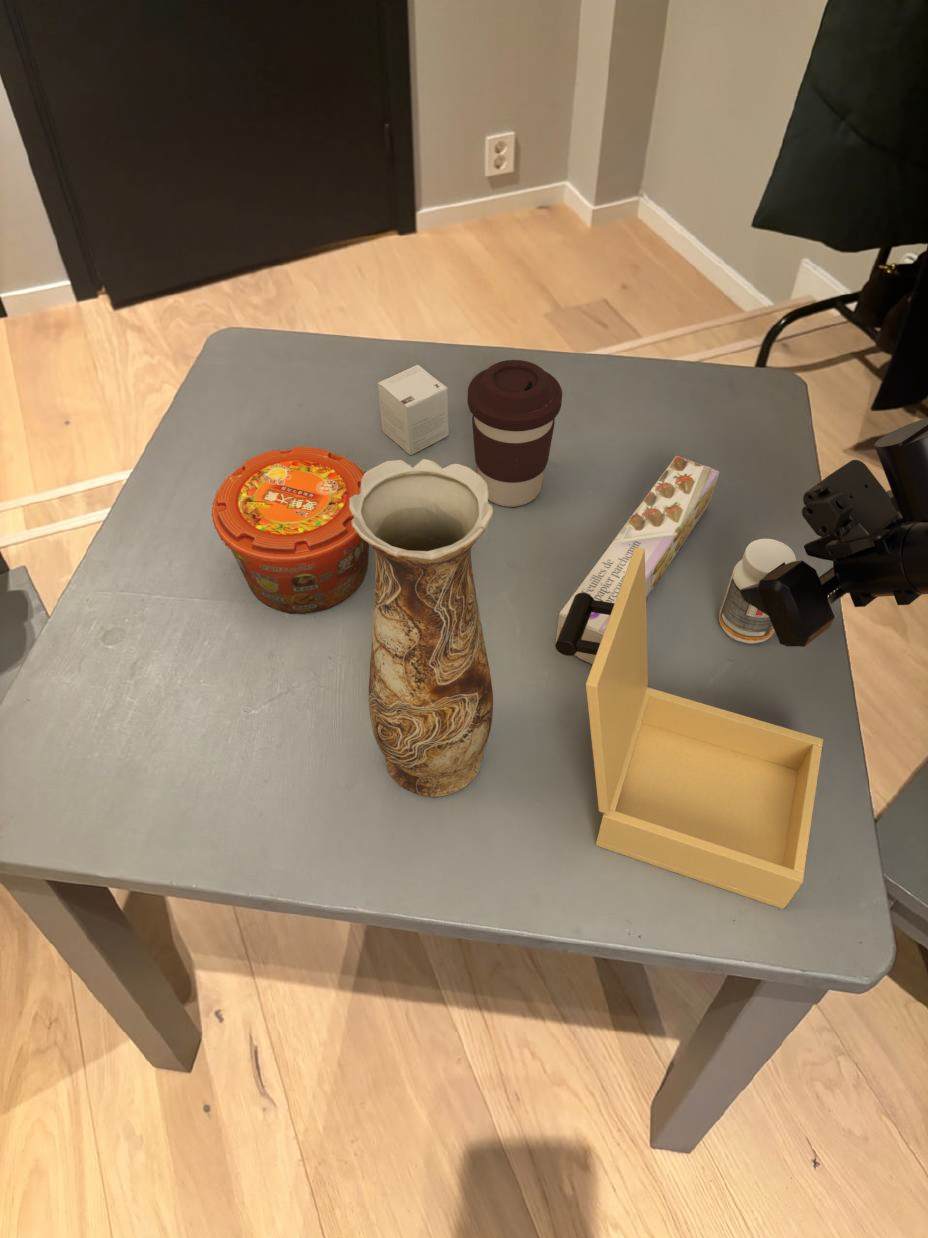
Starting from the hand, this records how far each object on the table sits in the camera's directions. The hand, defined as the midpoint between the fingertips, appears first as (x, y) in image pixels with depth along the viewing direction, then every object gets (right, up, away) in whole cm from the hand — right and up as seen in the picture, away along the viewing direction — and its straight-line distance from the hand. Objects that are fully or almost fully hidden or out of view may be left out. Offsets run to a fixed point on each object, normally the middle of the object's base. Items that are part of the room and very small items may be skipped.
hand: (775, 571), depth 84 cm
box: (-11, 0, +12) cm, 16 cm away
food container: (-46, +1, +12) cm, 47 cm away
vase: (-32, -16, -2) cm, 36 cm away
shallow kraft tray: (-8, -21, -6) cm, 23 cm away
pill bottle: (-1, -5, +7) cm, 9 cm away
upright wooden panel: (-17, -10, -15) cm, 24 cm away
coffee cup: (-24, +11, +20) cm, 33 cm away
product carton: (-35, +18, +27) cm, 48 cm away
